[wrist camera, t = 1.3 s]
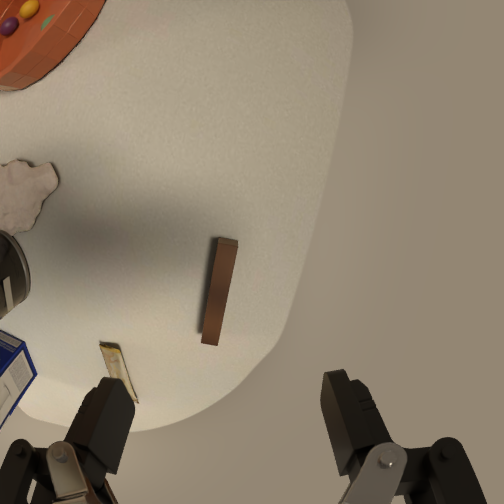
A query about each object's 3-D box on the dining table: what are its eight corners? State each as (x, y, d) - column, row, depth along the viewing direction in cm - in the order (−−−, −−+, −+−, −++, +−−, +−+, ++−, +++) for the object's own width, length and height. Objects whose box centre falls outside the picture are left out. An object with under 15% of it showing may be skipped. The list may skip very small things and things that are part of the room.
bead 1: (8, 41, 12) (-5, 37, 10) (8, 29, 11) (-4, 25, 9) (22, 27, 12) (9, 22, 10) (22, 16, 11) (10, 10, 9)
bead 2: (27, 24, 12) (15, 19, 10) (27, 13, 11) (15, 7, 9) (43, 10, 12) (31, 3, 9) (43, -1, 11) (31, -7, 9)
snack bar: (96, 344, 25) (115, 353, 24) (105, 338, 26) (123, 346, 26) (118, 400, 28) (135, 409, 27) (124, 394, 29) (141, 402, 29)
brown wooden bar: (218, 336, 26) (217, 346, 24) (202, 333, 26) (200, 343, 24) (238, 240, 23) (238, 246, 21) (219, 236, 22) (217, 242, 21)
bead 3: (50, 44, 14) (36, 37, 12) (48, 29, 13) (35, 22, 11) (70, 28, 14) (57, 20, 12) (67, 14, 13) (55, 6, 11)
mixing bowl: (2, 121, 17) (-31, 121, 11) (-3, 29, 11) (-27, 22, 6) (126, 21, 15) (103, -4, 10) (102, -53, 10) (86, -73, 4)
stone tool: (58, 133, 18) (-14, 180, 19) (37, 131, 15) (-31, 183, 16) (69, 216, 20) (-4, 242, 22) (49, 223, 18) (-20, 249, 19)
